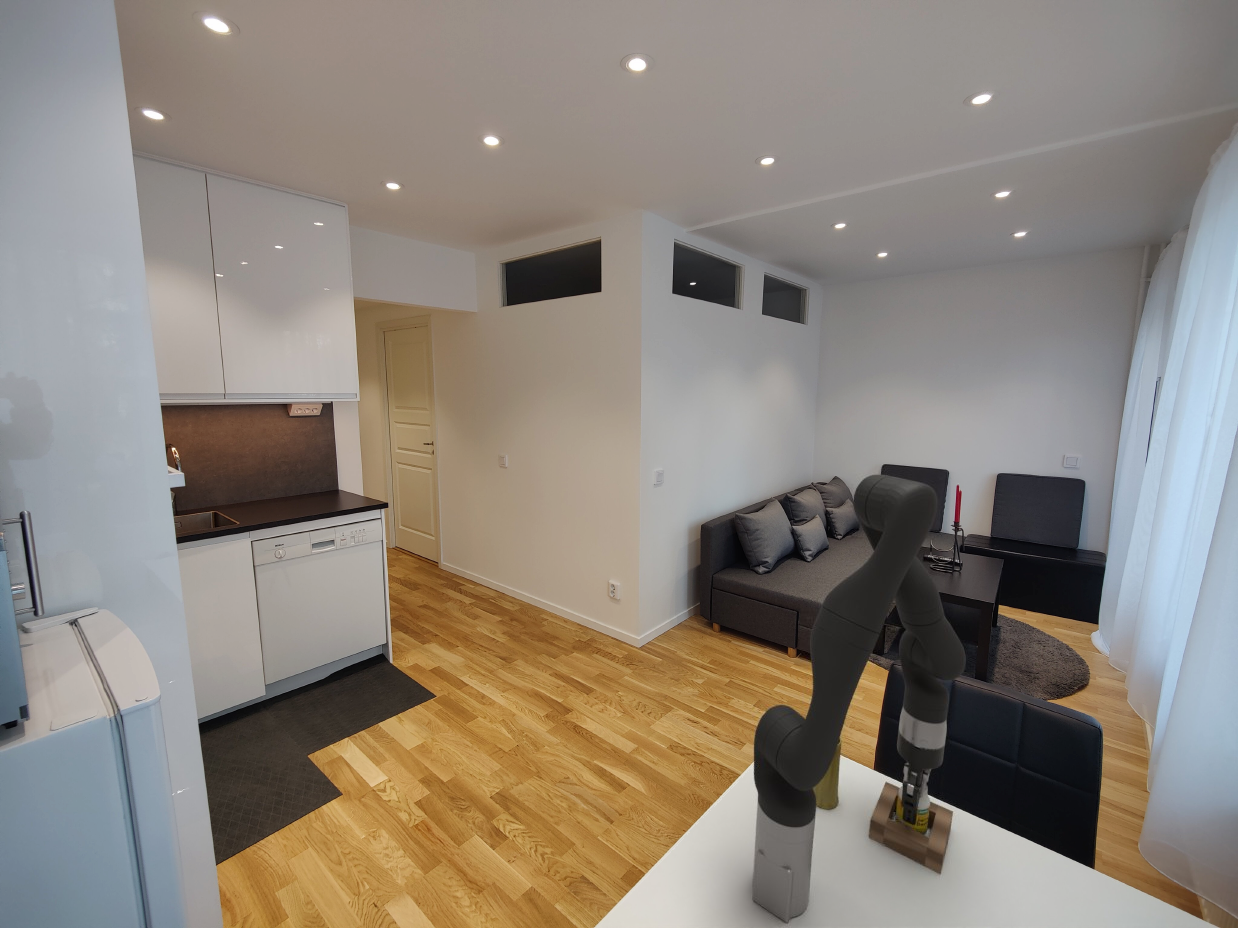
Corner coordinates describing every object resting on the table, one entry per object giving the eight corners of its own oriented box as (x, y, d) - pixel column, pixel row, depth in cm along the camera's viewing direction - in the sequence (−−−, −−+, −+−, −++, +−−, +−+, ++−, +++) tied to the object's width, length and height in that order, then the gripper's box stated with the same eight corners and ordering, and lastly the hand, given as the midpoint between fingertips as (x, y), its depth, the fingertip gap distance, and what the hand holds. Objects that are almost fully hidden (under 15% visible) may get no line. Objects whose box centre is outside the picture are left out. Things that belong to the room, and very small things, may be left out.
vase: (841, 794, 112) (846, 734, 109) (835, 814, 107) (840, 752, 104) (811, 782, 115) (815, 723, 113) (804, 801, 110) (808, 740, 107)
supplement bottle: (904, 811, 106) (909, 768, 104) (932, 830, 102) (937, 786, 100) (889, 823, 103) (894, 780, 101) (917, 843, 99) (922, 799, 97)
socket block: (940, 873, 94) (943, 854, 94) (868, 836, 102) (870, 818, 101) (950, 828, 104) (953, 811, 103) (884, 797, 111) (885, 781, 110)
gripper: (907, 706, 106) (899, 779, 110) (890, 745, 95) (881, 825, 99) (950, 721, 102) (940, 798, 105) (938, 764, 91) (927, 848, 94)
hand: (912, 811), depth 102 cm, fingers closed on supplement bottle, 5 cm apart
